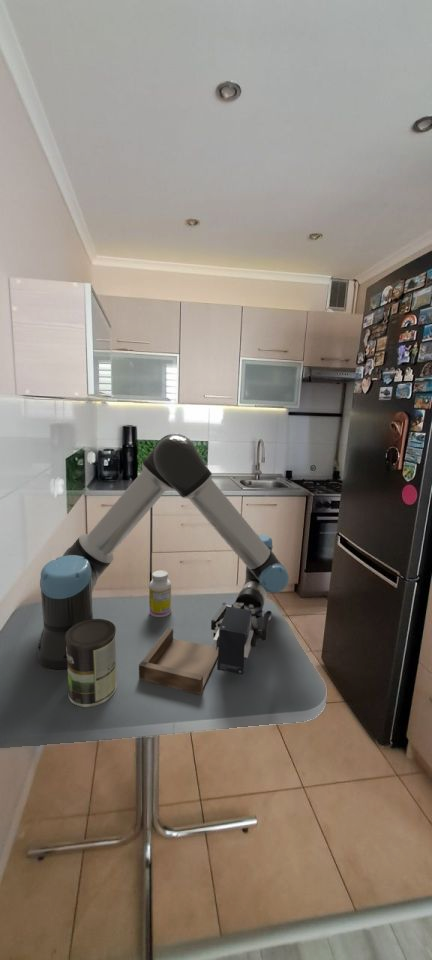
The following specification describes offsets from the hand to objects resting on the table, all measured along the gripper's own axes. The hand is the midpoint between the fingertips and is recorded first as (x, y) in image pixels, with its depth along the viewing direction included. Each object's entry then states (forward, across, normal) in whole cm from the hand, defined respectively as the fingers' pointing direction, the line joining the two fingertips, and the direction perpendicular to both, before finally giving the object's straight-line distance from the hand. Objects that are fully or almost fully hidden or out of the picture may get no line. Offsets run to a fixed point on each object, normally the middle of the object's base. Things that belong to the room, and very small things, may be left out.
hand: (230, 648), depth 82 cm
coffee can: (+11, +28, -10) cm, 32 cm away
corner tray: (-3, +13, -9) cm, 16 cm away
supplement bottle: (-23, +28, -10) cm, 38 cm away
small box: (-5, 0, -6) cm, 8 cm away
